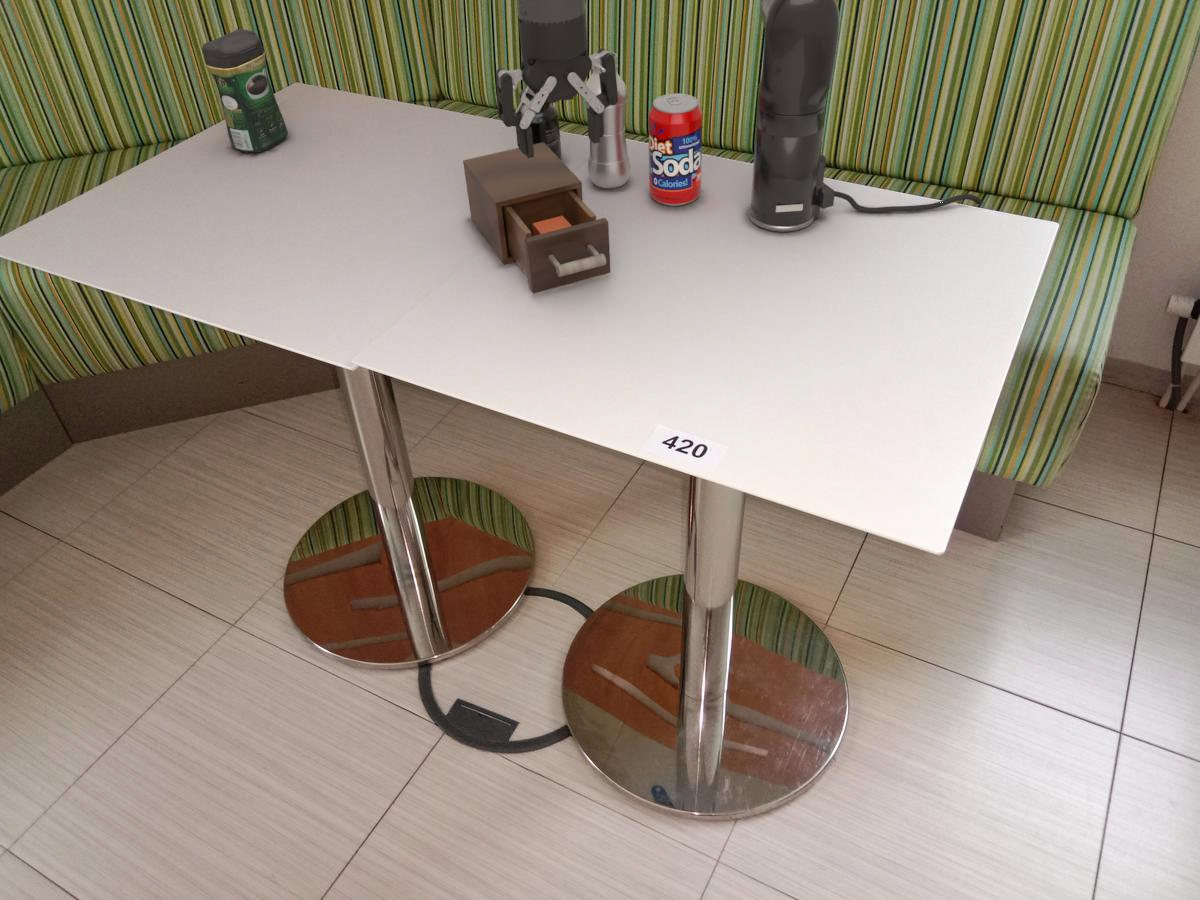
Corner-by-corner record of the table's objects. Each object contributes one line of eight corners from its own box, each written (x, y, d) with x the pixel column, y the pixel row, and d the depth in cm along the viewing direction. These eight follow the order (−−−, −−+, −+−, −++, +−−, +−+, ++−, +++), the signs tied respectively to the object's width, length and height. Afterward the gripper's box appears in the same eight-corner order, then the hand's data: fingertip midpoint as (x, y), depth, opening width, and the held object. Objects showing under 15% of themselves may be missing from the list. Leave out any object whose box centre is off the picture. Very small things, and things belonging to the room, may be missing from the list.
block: (564, 244, 136) (562, 215, 133) (577, 259, 133) (575, 229, 130) (535, 252, 135) (532, 223, 132) (547, 267, 132) (544, 237, 129)
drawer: (624, 288, 129) (623, 236, 124) (545, 311, 126) (540, 258, 121) (572, 229, 141) (569, 179, 136) (499, 248, 138) (493, 198, 133)
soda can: (691, 182, 153) (693, 87, 143) (707, 205, 147) (710, 108, 137) (643, 189, 151) (641, 95, 141) (657, 213, 146) (657, 116, 136)
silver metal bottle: (627, 194, 151) (623, 64, 137) (584, 192, 152) (576, 63, 138) (634, 175, 155) (631, 48, 142) (593, 173, 156) (586, 47, 143)
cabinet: (585, 243, 140) (581, 181, 134) (503, 264, 137) (495, 202, 130) (548, 201, 150) (543, 141, 144) (471, 220, 147) (462, 160, 140)
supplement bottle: (555, 151, 163) (549, 80, 155) (567, 168, 158) (562, 95, 150) (516, 158, 162) (508, 87, 154) (526, 176, 157) (519, 103, 149)
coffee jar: (264, 128, 176) (233, 22, 163) (296, 136, 172) (267, 28, 160) (224, 149, 170) (189, 41, 157) (256, 158, 166) (223, 48, 154)
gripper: (598, -12, 111) (603, 125, 122) (479, 9, 107) (496, 148, 118) (624, 7, 106) (627, 148, 117) (500, 29, 102) (515, 172, 113)
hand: (561, 148), depth 118 cm, fingers open, 8 cm apart
